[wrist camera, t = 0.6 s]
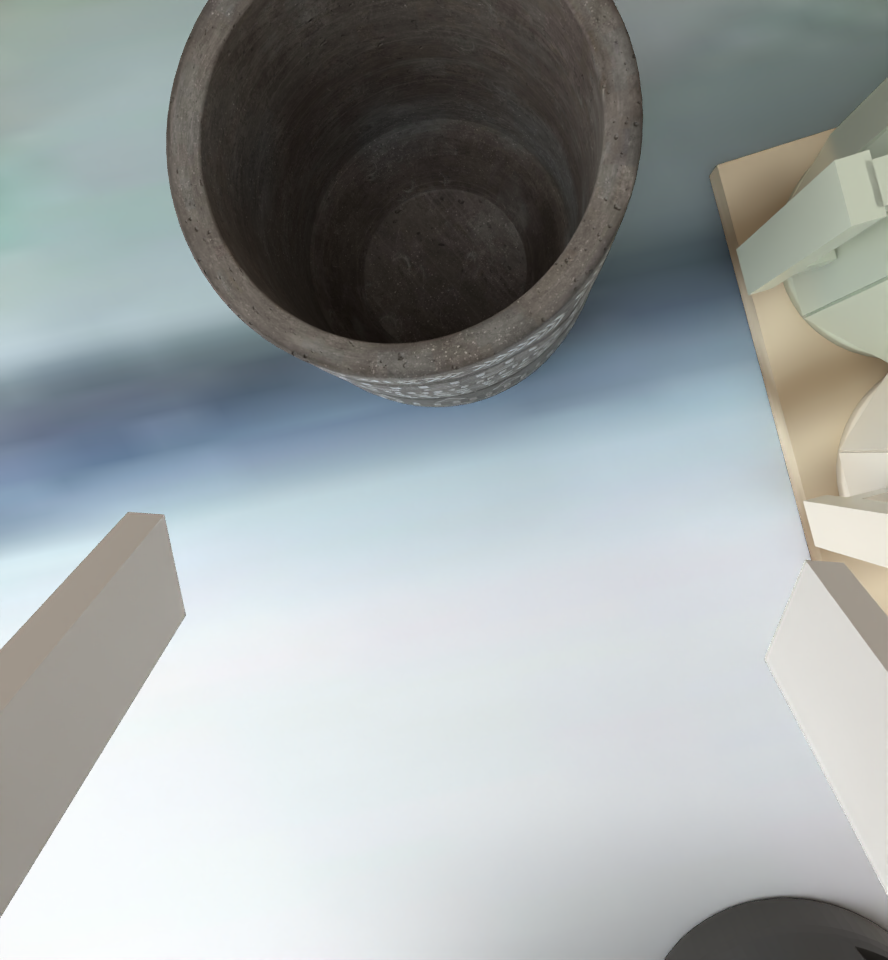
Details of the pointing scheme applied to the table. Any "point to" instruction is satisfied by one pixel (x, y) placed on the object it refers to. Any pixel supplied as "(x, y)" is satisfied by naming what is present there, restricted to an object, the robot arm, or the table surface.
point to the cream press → (858, 486)
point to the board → (796, 344)
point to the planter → (406, 179)
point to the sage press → (834, 236)
